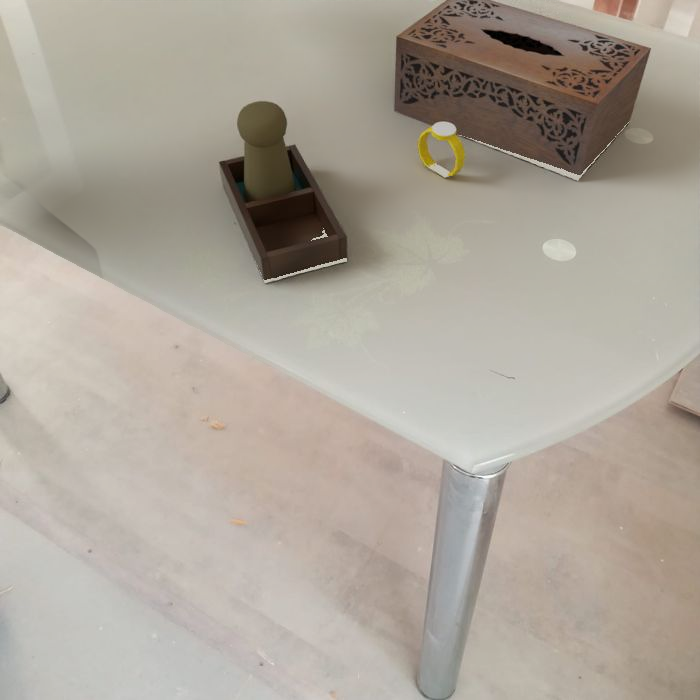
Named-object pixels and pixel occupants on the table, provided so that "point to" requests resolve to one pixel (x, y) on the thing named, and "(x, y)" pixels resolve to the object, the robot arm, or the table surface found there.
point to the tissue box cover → (518, 80)
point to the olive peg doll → (264, 151)
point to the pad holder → (285, 221)
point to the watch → (443, 133)
